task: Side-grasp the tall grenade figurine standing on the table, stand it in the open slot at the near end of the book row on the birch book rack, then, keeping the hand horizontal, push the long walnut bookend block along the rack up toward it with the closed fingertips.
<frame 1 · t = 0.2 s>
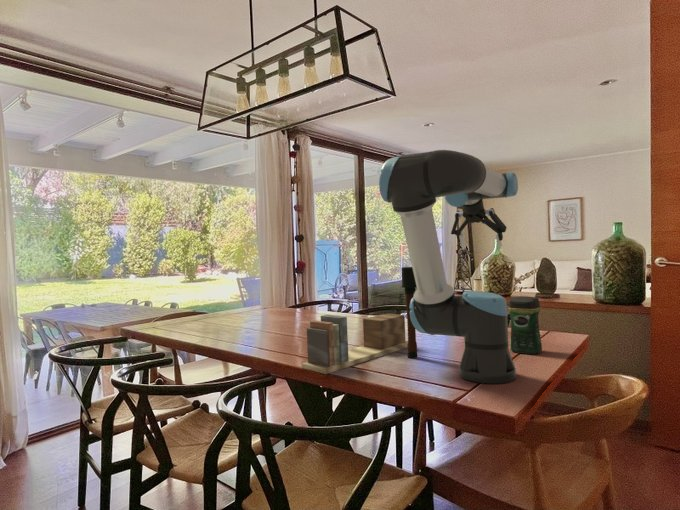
hand: (481, 247, 171), 35 cm above the table, tool tilted 35°, fingers open, 13 cm apart
coffee jar: (525, 352, 149), on the table
bookend: (385, 344, 161), point 1 cm above the table, touching book rack
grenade: (412, 357, 147), on the table
book rack: (349, 359, 148), on the table
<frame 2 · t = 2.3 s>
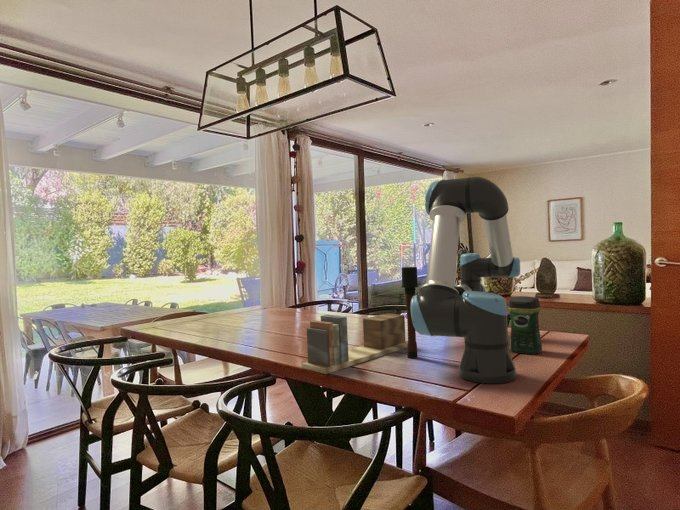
hand: (426, 302, 154), 17 cm above the table, tool horizontal, fingers open, 13 cm apart
nothing on the table moved.
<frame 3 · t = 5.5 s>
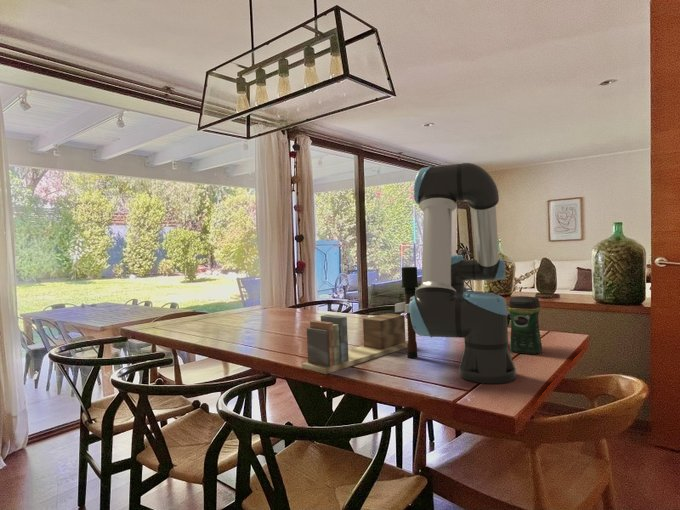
hand: (400, 308, 143), 17 cm above the table, tool horizontal, fingers closed on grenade, 3 cm apart
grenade: (412, 357, 147), on the table, touching gripper
everything else where it was.
when the fingers open (20 cm above the table, at t = 11.3 s): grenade drops 1 cm, resting on book rack.
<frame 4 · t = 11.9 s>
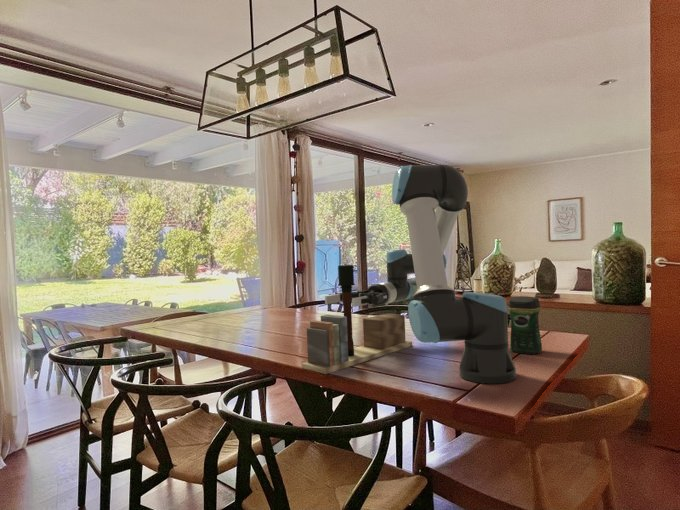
hand: (339, 301, 144), 20 cm above the table, tool horizontal, fingers open, 12 cm apart
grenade: (349, 355, 148), point 1 cm above the table, touching book rack
everything else where it was.
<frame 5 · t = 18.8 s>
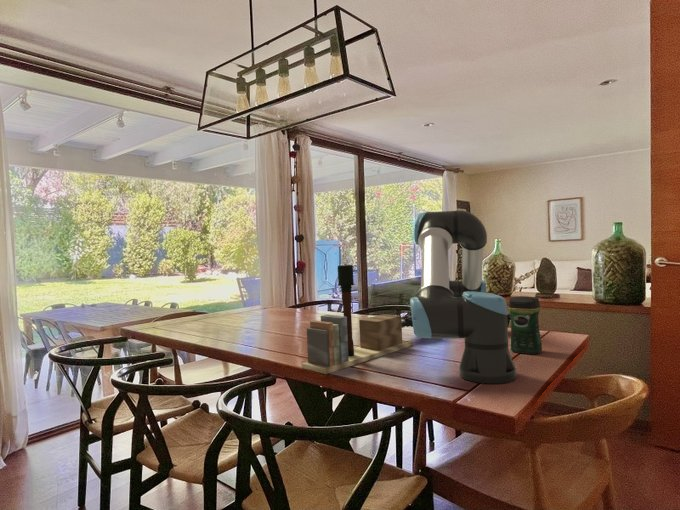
hand: (393, 325, 165), 7 cm above the table, tool horizontal, fingers closed
bookend: (381, 345, 160), point 1 cm above the table, touching book rack
everything else where it was.
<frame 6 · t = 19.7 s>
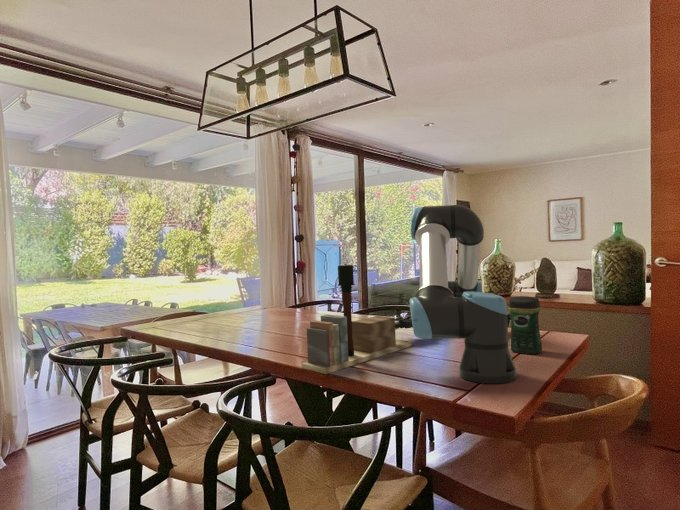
hand: (386, 327, 162), 7 cm above the table, tool horizontal, fingers closed
bookend: (374, 347, 157), point 1 cm above the table, touching book rack, gripper
everything else where it was.
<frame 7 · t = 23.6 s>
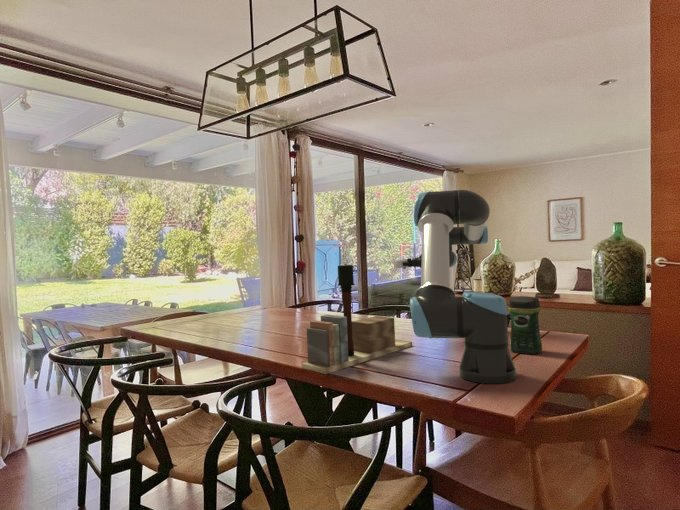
hand: (395, 264, 166), 30 cm above the table, tool horizontal, fingers closed
bookend: (374, 347, 156), point 1 cm above the table, touching book rack
everything else where it was.
at the end: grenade 0.1 cm from the book rack (horizontally); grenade tilted 0°; bookend 12.6 cm from the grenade (horizontally) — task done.
